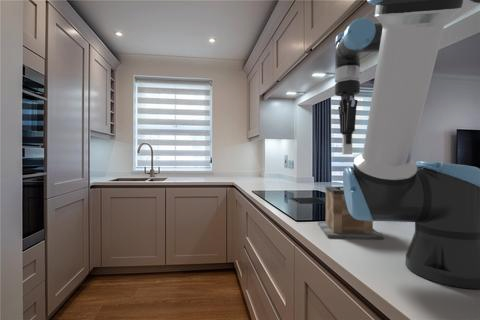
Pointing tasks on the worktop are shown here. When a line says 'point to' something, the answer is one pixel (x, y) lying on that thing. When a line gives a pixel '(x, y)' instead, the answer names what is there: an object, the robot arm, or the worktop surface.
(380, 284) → the worktop surface
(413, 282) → the worktop surface
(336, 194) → the tan stepped shape
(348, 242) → the worktop surface
